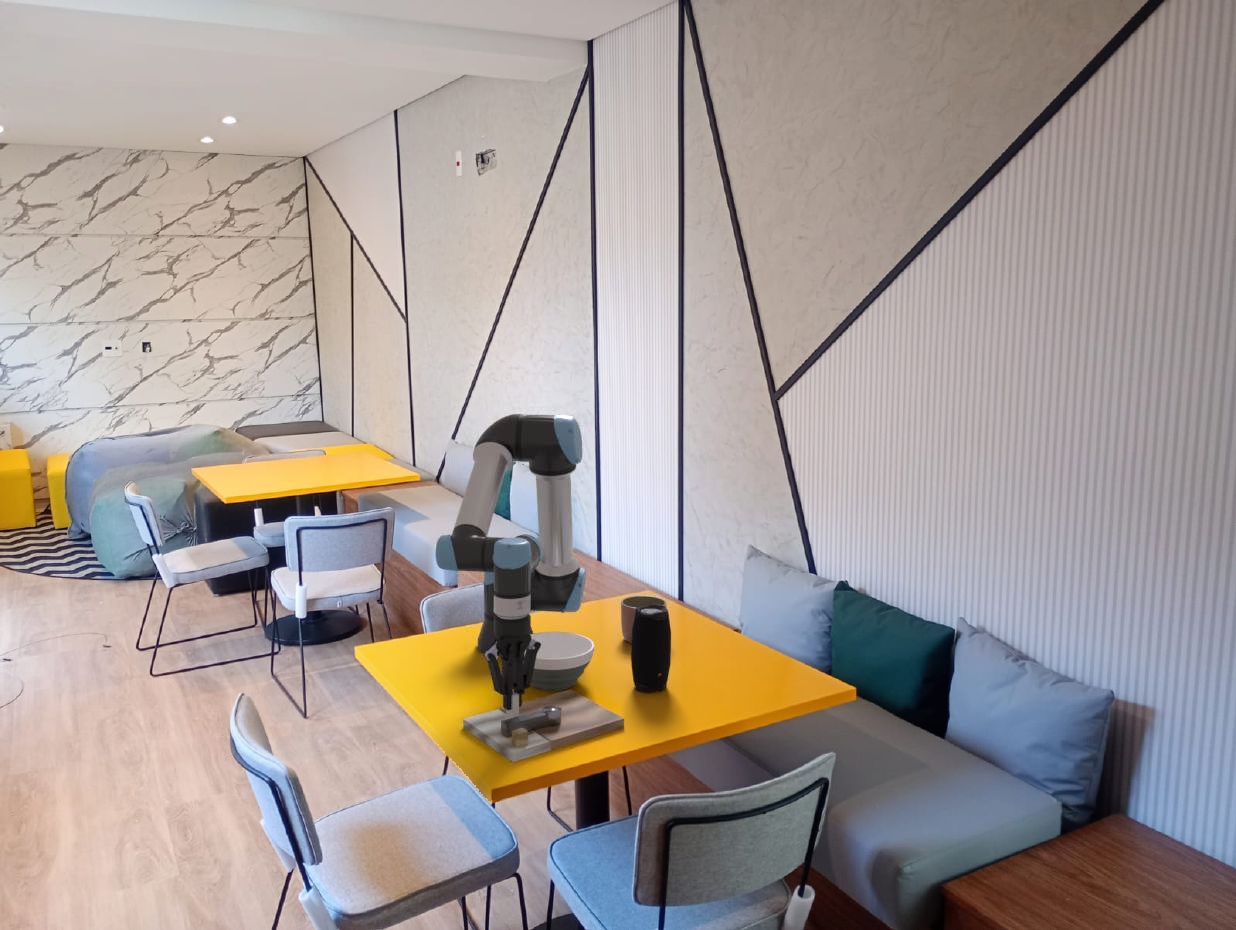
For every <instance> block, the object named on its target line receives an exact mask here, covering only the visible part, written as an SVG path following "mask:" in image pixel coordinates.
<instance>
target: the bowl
mask: <svg viewBox="0 0 1236 930" xmlns="http://www.w3.org/2000/svg"><path fill="white" fill-rule="evenodd" d="M530 635H531V639H534V640H536V641H538V642H540V643H541V647H540V649H539V651H538V653H537V656H536V661H535V666H534V670H533V675H532V680H531V685H530V686H532V687H534V688H536V689H539V690H542V691H552V692H553V691H555V692H556V691H563V690H564V691H565V690H568V689H570V688H572V687H574V686H575V685H576V683H577V682H578V678H580V677H581V676H582V674H584V672H585V670H586V668H587V667H588V666H589V664H590V662H591V660H592V659H593V656H594V651H595V643H594V642H593V640H592V639H590V638H589V637H587V636H584V635H581V634H577V633H572V632H567V631H566V632H564V631H542V632H536V633H534V632H533V634H530ZM525 653H526V651H525ZM523 662H524V661H523Z"/></svg>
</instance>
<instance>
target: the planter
mask: <svg viewBox="0 0 1236 930" xmlns="http://www.w3.org/2000/svg"><path fill="white" fill-rule="evenodd" d="M650 604H659V605H663V606H665V608H666V609H667V601H666V600H665V599H664V598H661V597H658V596H651V595H633V596H632V595H631V596H627V597H625V598H623V599H621V601H620V616H621V617H620V619H621V620H620V623H621V633H622V637H623V638H624V640H625V641H626V642H629V643H630V644H631V643H632V627H633V622H634V618H635V611H636V607H642V606H647V605H650Z"/></svg>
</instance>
